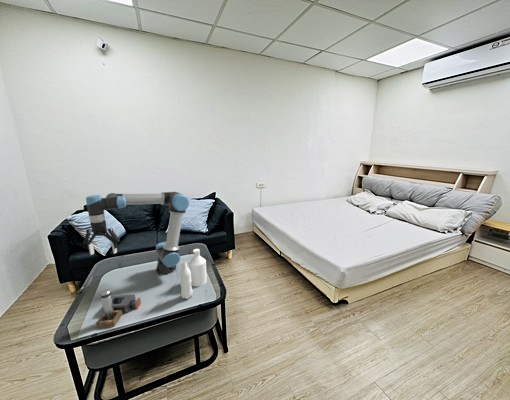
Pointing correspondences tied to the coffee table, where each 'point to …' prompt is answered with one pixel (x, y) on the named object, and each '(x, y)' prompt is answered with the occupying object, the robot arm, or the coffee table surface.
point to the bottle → (198, 269)
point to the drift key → (135, 303)
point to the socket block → (122, 302)
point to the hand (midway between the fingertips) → (103, 253)
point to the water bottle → (185, 281)
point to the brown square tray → (109, 323)
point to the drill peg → (107, 304)
